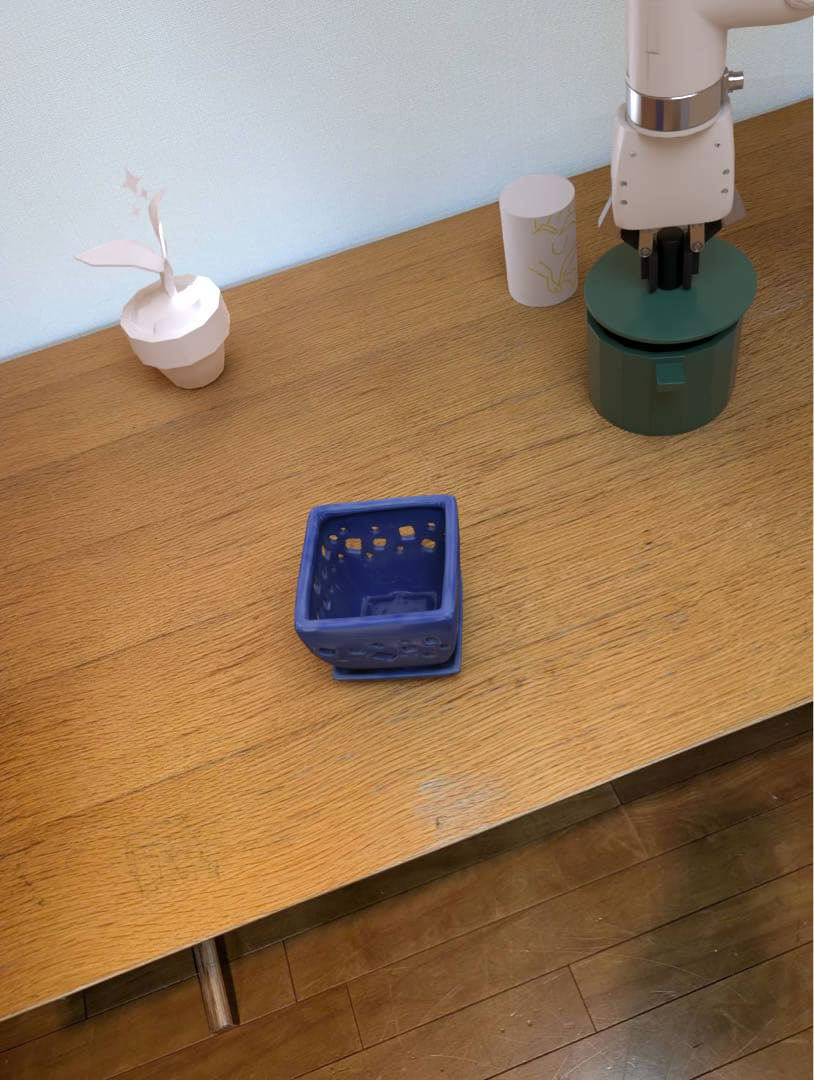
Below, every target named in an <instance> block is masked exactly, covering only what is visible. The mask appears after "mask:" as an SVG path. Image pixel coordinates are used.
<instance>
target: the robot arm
mask: <svg viewBox="0 0 814 1080" xmlns="http://www.w3.org/2000/svg"><path fill="white" fill-rule="evenodd" d="M811 17H814V0H624V46H625V47H624V50H625V52H624V54H625V56H624V57H625V58H624V59H625V62H624V63H625V102H624V103H622V104H620V106H619V107H618V109H617V111H616V114H615V119H614V124H613V132H612V139H611V140H612V141H611V152H610V153H611V154H610V155H611V156H610V195H609V197H608V200H607V202H606V204H605V205H604V208H603V210H602V212H601V213H600V215H599V218H598V220H597V227H598V232H599V233H600V234H602V235H605V236H609V237H612V238H615V239H617V238H620V239H621V240H622V242H626V243H627V244H629V245H630V246H631V247H633V248H634V249H636V250H637V251H638V253H639V255H640V272H641V280H642V279H648V283H649V292H655V290H657V277H658V255H657V249H656V239H655V240H654V236H653V233H655V232H654V230H655V229H658V228H660V229H661V228H663V227H670V226H679V225H688V229H687V230H686V231H687V232H686V233H684V247H683V269H682V284H683V287H685V289H688V288H691V281H692V275H694V274H698V273H699V257H700V251H702V250H703V248H704V244H705V243H706V242H707V241H708V240H709V239H711V238H712V237H713V236H714V237H715V236H716V234H718V232H720V231H721V230H722V229H723V227H727V226H731V225H732V224H734V223H736V222H739V221H740V220H742V219H744V218H745V217H746V215H747V213H746V207H745V203H744V201H743V199H742V197H741V195H740V193H739V192H738V189H737V187H736V186H735V161H736V160H735V138H734V117H733V108H732V101H731V98H730V96H729V94H730V93H733V92H734V91H739V90H743V89H744V84H745V83H744V82H745V81H744V80H745V79H744V75H745V74H744V70H738V71H734V70H729V69H728V66H726V62H727V49H728V48H727V47H728V35H729V33H728V32H729V30H732V29H742V28H753V27H767V26H770V27H771V26H781V25H785V24H792V23H796V22H799V21H803V20H806V19H808V18H809V19H810V18H811Z"/></svg>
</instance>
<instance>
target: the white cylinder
mask: <svg viewBox="0 0 814 1080" xmlns="http://www.w3.org/2000/svg"><path fill="white" fill-rule="evenodd" d="M575 191H576V190H575V186H574V185H573V183H572V182H571V181H570V180H569V179H568V178H566V177H565V176H562V175H559V174H556V173H550V172H538V173H537V172H536V173H530V174H526V175H523V176H520V177H518V178H516V179H514V180H512V181H510V182H509V183H507V184H506V185H505V186H504V187H503V189H502V190H501V191H500V194H499V197H498V202H499V203H498V204H499V212H500V221H501V231H502V240H503V250H504V258H505V259H504V260H505V269H506V277H507V278H506V279H507V287H508V292H509V294H510V297H511V298H512V299H513V300H514V301H515V302H517V303H519V304H521V305H523V306H526V307H531V308H546V307H553V306H555V305H558V304H561V303H563V302H565V301H566V300H568V299H569V298H571V297H572V296H573V295H574V294H575V292H577V289H578V287H579V286H578V285H579V265H578V264H579V263H578V262H579V261H578V240H577V238H578V237H577V217H576V216H577V215H576V214H577V213H576V192H575Z"/></svg>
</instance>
